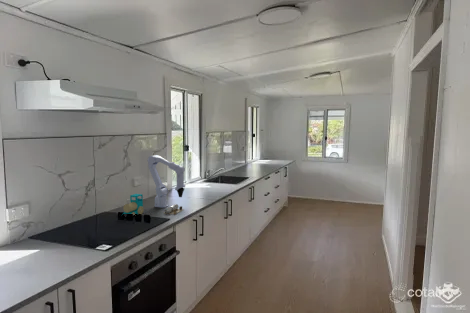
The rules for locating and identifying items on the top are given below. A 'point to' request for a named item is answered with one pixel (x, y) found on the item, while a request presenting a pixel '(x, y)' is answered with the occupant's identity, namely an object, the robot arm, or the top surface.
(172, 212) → the collar board
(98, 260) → the top surface
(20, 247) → the top surface
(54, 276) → the top surface
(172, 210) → the tube
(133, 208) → the toy train
